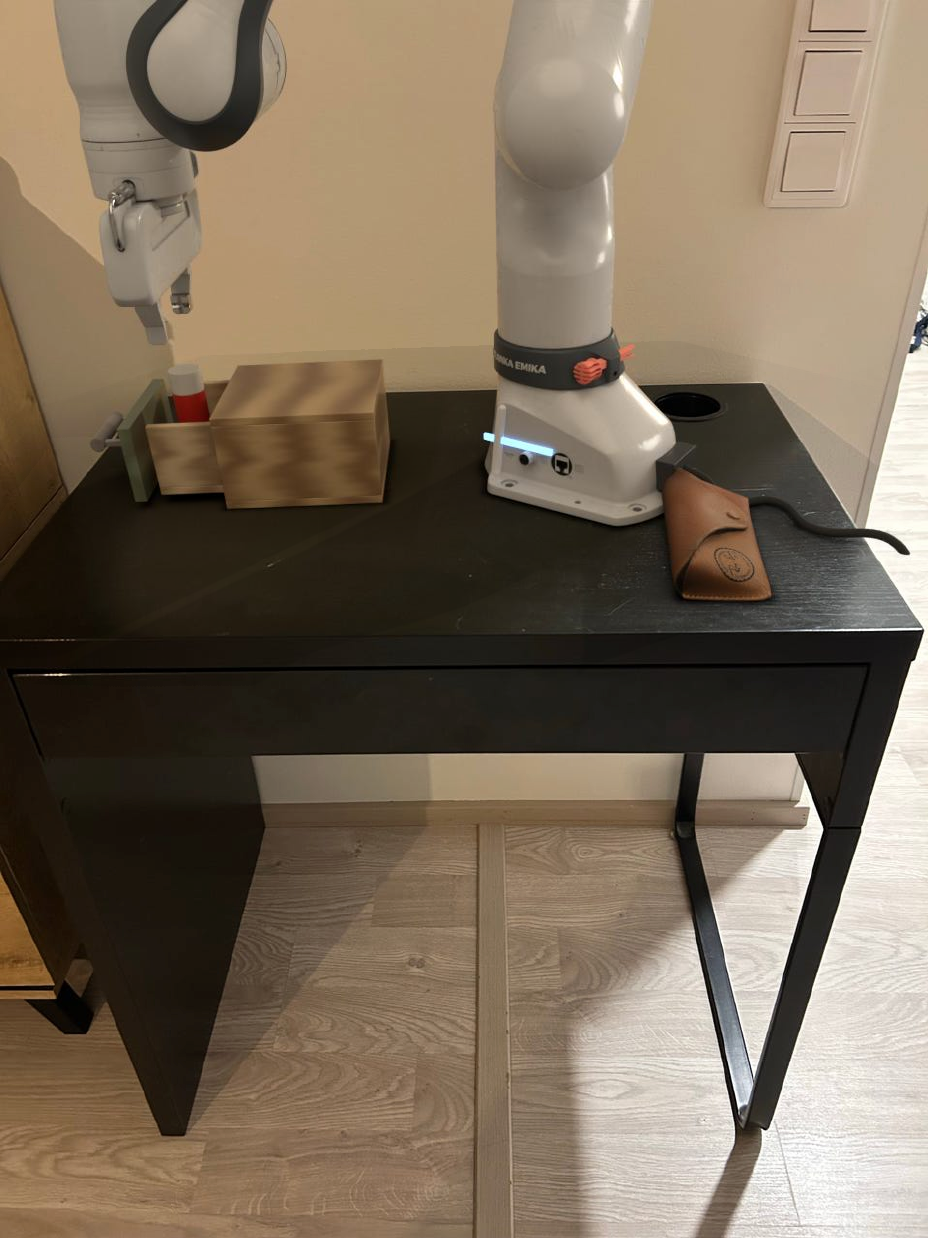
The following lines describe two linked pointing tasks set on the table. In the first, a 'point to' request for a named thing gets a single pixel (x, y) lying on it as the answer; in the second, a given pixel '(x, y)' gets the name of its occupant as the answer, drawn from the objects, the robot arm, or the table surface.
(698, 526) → the sunglasses case
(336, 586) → the table surface
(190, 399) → the glue stick
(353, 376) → the cabinet
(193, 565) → the table surface
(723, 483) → the table surface
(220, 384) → the drawer
